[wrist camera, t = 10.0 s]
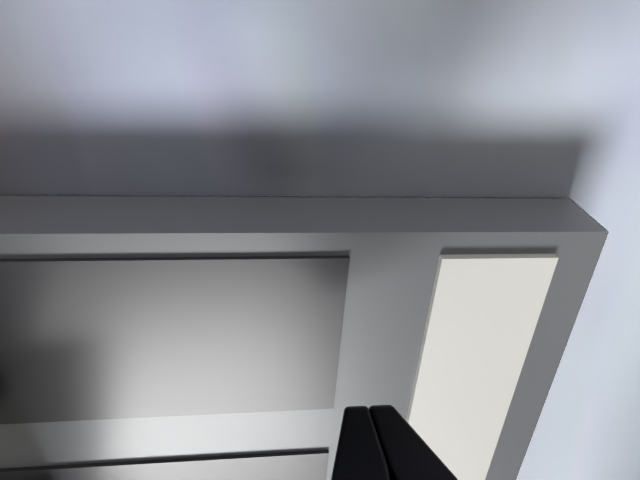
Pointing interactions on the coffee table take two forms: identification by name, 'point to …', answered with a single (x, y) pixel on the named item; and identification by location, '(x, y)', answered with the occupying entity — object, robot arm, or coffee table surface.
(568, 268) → the breaker panel
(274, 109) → the coffee table surface
